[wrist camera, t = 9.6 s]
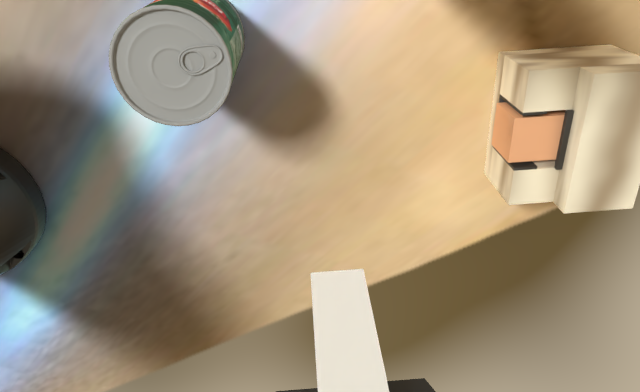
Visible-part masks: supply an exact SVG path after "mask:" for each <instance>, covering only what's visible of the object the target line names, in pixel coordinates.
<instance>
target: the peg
mask: <svg viewBox="0 0 640 392" xmlns="http://www.w3.org/2000/svg"><path fill="white" fill-rule="evenodd" d="M565 111H566V110H557V111H547V114H541V115H526V116H522V115H521V114H520V113H518V112H517V111H516V110H515V109H514V108H512V107H511V106H510V105H509V104H508V103H506V102H502V103H497V105H496V113H495V121H494V128H493V136H492V146H493V147H494V148H495V149H496V150H497V151H498V152H499V153H500V154H501V155H502V157H503V158H504V159H505V160H506V161H507V162H508V163H512V162H526V161H540V160H554V159H556V156H557V151H558V146H559V141H560V136H561V131H562V126H563V121H564V116H565Z"/></svg>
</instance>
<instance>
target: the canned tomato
mask: <svg viewBox="0 0 640 392" xmlns="http://www.w3.org/2000/svg"><path fill="white" fill-rule="evenodd" d="M244 42H245V36H244V28H243V25H242V22H241V19H240V17H239V15H238V13H237V11H236V10H235V8H234V7H233V6H232V5H231V3H230V2H229V1H228V0H155V1H154V2H152V3H150V4H149V5H147V6H145V7H144V8H142V9H140V10H138V11H136V12H134V13H132V14H130V15H129V16H128V17H127V18H126V19H125V20H124V21H123V22H122V23H121V24H120V26H119V27H118V29H117V30H116V31H115V33H114V36H113V38H112V41H111V44H110V50H109V67H110V71H111V75H112V79H113V81H114V83H115V85H116V87H117V90H118V91H119V93H120V94H121V95H122V97H123V98H124V100H125V101H126V102H127V103H128V104H129V105H130V106H131V107H132V108H133V109H134V110H136V111H137V112H138V113H140V114H141V115H143V116H144V117H146V118H148V119H150V120H152V121H155V122H158V123H161V124H165V125H172V126H186V125H191V124H195V123H199V122H201V121H203V120H205V119H207V118H209V117H210V116H211V115H213V114H214V113H215V112H217V111H218V109H219V108H220V107H221V106H222V105H223V103H224V102H225V100H226V98H227V96H228V94H229V92H230V88H231V84H232V82H233V79H234V76H235V73H236V70H237V67H238V64H239V61H240V58H241V56H242V53H243V50H244Z"/></svg>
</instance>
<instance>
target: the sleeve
mask: <svg viewBox="0 0 640 392" xmlns="http://www.w3.org/2000/svg"><path fill="white" fill-rule="evenodd" d="M502 102H506V103H508V104H509V105H510V106H511V107H512V108H514V109H515V110H516V111H517V112H518V113H520V114H521V115H522V116H526V115H541V114H547V111H557V110H566V111H565V116H564V121H563V126H562V131H561V136H560V141H559V146H558V151H557V156H556V159H554V160H540V161H526V162H512V163H508V162H507V161H506V160H505V159H504V158H503V157H502V155H501V154H500V153H499V152H498V151H497V150H496V149H495V148H494V147H493V146H492V136H493V128H494V121H495V113H496V105H497V103H502ZM484 174H485V175H486V177H487V178H488V179H489V180H490V182H491V183H492V184H493V186H494V187H495V188H496V190H497V191H498V192H499V193H500V195H501V196H502V197H503V199H504V200H505V201H506V202H507V204H508V205H516V204H530V203H544V202H554V204H555V205H556V206H557V207H558V208H559V209H560V210H561V211H562V212H563V213H575V212H589V211H602V210H616V209H630V208H633V206H634V202H635V199H636V195H637V192H638V189H639V186H640V56H639V55H636V54H634V53H631V52H629V51H626V50H623V49H621V48H618V47H616V46H613V45H610V44H608V45H593V46H578V47H563V48H548V49H532V50H517V51H502V52H499V53H498V61H497V70H496V78H495V86H494V94H493V102H492V110H491V118H490V127H489V135H488V143H487V151H486V159H485V167H484Z"/></svg>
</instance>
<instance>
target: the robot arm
mask: <svg viewBox="0 0 640 392" xmlns="http://www.w3.org/2000/svg"><path fill="white" fill-rule="evenodd" d="M45 224H46V210H45V204H44V200H43V197H42V195H41V192H40V190H39V188H38V186H37V185H36V183H35V181H34V180H33V178H32V177H31V176H30V174H29V173H28V172H27V171H26V170H25V168H24V167H23V166H22V165H21V164H20V163H19V162H18V161H16V160H15V159H14V158H13V157H12V156H10V155H9V154H8V153H7V152H5V151H4V150H2V149H1V148H0V275H1V274H3V273H5V272H7V271H9V270H10V269H12V268H14V267H15V266H17V265H18V264H19V263H21V262H22V261H23V260H24V259H25V258H26V257H27V256H28V255H29V253H30V252H31V251H32V250H33V248H34V247H35V246H36V244H37V243H38V242H39V240H40V239H41V237H42V235H43V232H44V229H45ZM311 287H312V303H313V320H314V335H315V351H316V352H315V353H316V368H317V369H316V370H317V386H318V388H314V389H301V390H288V391H277V392H435V391H434V389H433V388H432V387H431V386H430V385H429V383H428V382H427V381H426V380H425V379H424V378H423V379H410V380H399V381H387V378H386V374H385V369H384V365H383V360H382V356H381V350H380V346H379V341H378V336H377V331H376V327H375V322H374V317H373V313H372V308H371V304H370V298H369V294H368V289H367V284H366V280H365V275H364V270H363V269H354V270H341V271H328V272H314V273H311Z"/></svg>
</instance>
